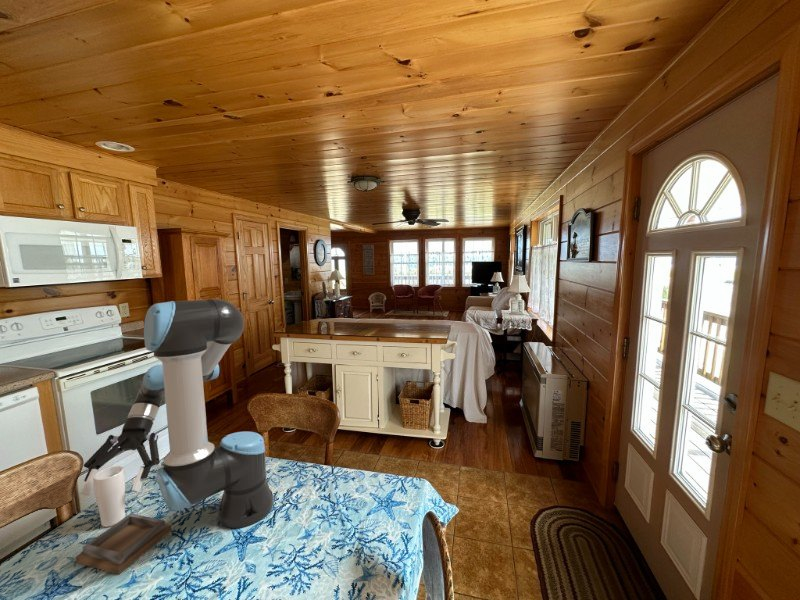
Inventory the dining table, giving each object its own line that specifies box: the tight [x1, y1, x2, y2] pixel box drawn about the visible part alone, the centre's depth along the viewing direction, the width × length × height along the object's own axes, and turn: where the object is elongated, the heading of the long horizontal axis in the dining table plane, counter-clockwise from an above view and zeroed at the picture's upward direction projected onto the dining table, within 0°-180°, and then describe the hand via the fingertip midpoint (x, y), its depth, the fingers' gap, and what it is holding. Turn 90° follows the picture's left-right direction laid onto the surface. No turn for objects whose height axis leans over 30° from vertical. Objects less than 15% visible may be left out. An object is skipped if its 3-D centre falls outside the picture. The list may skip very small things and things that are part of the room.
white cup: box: [93, 465, 126, 528], centre depth 96 cm, size 7×7×15 cm
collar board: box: [75, 512, 173, 575], centre depth 88 cm, size 14×14×4 cm
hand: (110, 493), depth 97 cm, fingers open, 13 cm apart
